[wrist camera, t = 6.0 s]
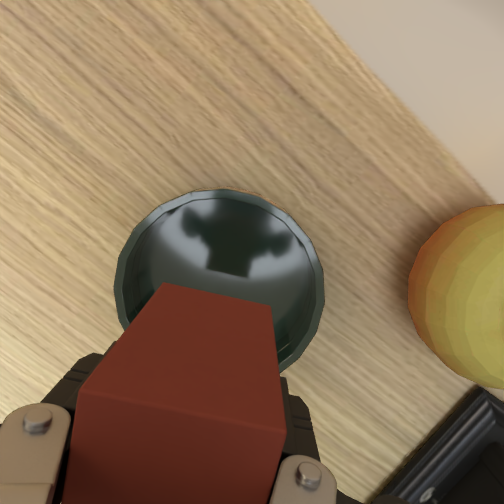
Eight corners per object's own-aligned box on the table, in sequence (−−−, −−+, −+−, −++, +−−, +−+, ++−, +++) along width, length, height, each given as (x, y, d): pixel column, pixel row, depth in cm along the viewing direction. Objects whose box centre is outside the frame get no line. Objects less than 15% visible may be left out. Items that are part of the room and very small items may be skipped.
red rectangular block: (162, 281, 14) (77, 389, 7) (271, 305, 14) (288, 432, 7) (140, 398, 15) (46, 591, 8) (241, 419, 15) (233, 625, 8)
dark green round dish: (150, 167, 24) (133, 166, 20) (335, 211, 24) (349, 217, 21) (119, 341, 26) (99, 367, 23) (289, 378, 27) (295, 409, 23)
